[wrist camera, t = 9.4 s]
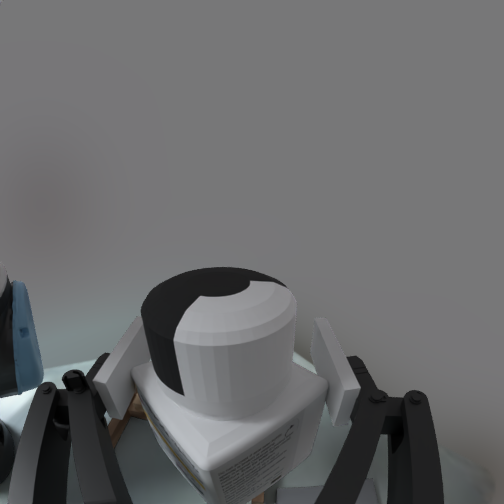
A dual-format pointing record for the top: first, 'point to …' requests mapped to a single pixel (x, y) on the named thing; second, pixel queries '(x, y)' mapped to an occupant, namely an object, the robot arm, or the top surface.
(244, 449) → the container
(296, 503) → the rubber mat
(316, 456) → the top surface
